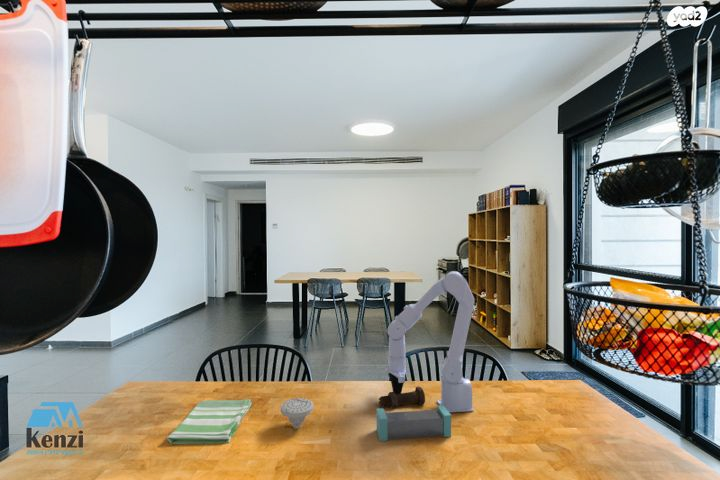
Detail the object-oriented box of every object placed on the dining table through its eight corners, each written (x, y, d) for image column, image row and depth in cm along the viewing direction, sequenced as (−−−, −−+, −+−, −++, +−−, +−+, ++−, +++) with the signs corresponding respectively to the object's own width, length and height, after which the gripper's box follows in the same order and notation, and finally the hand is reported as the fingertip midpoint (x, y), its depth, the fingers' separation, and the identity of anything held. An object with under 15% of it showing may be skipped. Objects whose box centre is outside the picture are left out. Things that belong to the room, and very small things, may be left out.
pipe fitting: (443, 425, 105) (443, 405, 105) (451, 436, 99) (451, 415, 99) (376, 429, 103) (376, 408, 103) (380, 441, 97) (380, 419, 97)
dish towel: (252, 405, 119) (252, 396, 119) (231, 445, 96) (231, 435, 96) (198, 406, 118) (198, 398, 118) (163, 447, 95) (163, 436, 95)
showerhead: (272, 406, 102) (293, 392, 111) (272, 431, 102) (293, 416, 111) (300, 413, 98) (319, 398, 107) (300, 439, 98) (319, 422, 107)
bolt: (379, 412, 117) (421, 405, 121) (383, 411, 113) (426, 404, 117) (376, 393, 120) (417, 387, 124) (379, 391, 116) (422, 385, 119)
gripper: (381, 349, 129) (381, 387, 129) (389, 363, 114) (389, 406, 114) (401, 349, 129) (401, 386, 129) (411, 362, 115) (411, 404, 115)
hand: (397, 395), depth 122 cm, fingers closed
